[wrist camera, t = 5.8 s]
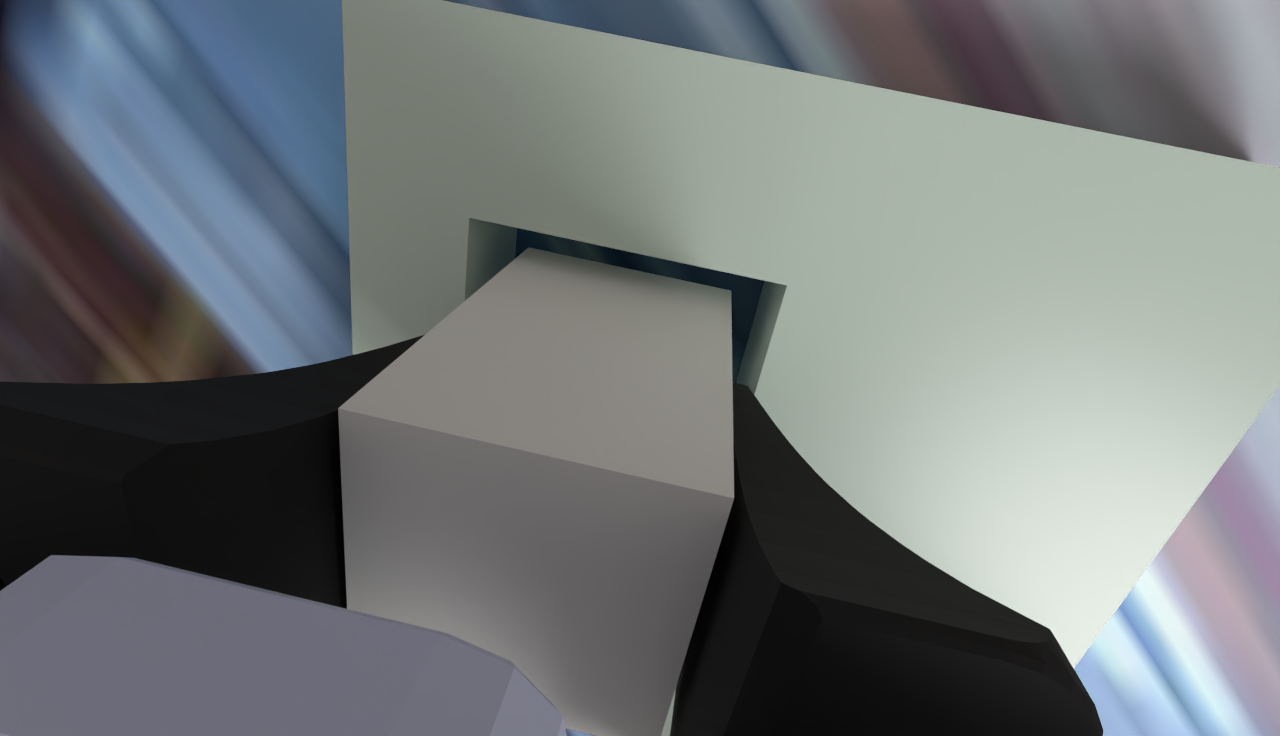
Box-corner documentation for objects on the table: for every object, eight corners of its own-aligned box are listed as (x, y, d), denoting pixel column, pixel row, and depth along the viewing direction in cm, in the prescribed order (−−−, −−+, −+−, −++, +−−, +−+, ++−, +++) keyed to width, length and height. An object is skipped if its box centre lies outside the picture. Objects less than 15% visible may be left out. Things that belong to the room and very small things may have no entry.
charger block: (687, 460, 14) (655, 750, 8) (510, 421, 14) (349, 676, 8) (731, 290, 12) (734, 498, 6) (528, 247, 12) (338, 408, 6)
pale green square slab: (927, 714, 18) (961, 822, 16) (414, 591, 19) (362, 676, 16) (1255, 167, 11) (1418, 195, 9) (427, 1, 12) (341, -21, 9)
